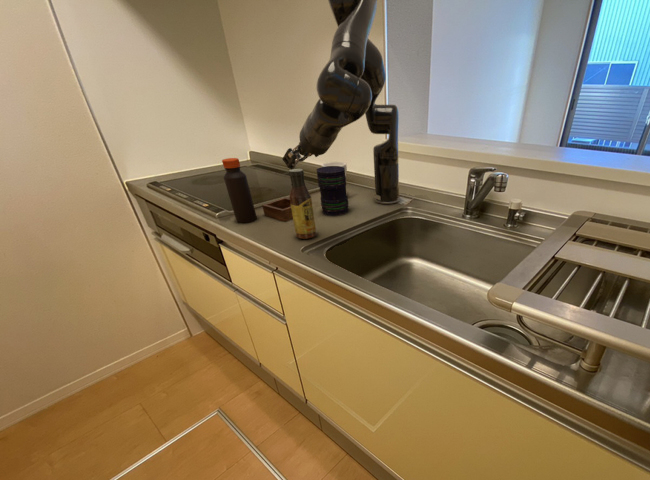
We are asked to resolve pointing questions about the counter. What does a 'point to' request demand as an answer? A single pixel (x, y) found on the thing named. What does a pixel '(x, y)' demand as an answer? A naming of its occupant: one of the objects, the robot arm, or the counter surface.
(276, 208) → the box
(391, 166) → the robot arm
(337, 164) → the foam cup
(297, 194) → the sauce bottle
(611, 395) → the counter surface
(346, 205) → the storage jar
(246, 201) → the vinegar
